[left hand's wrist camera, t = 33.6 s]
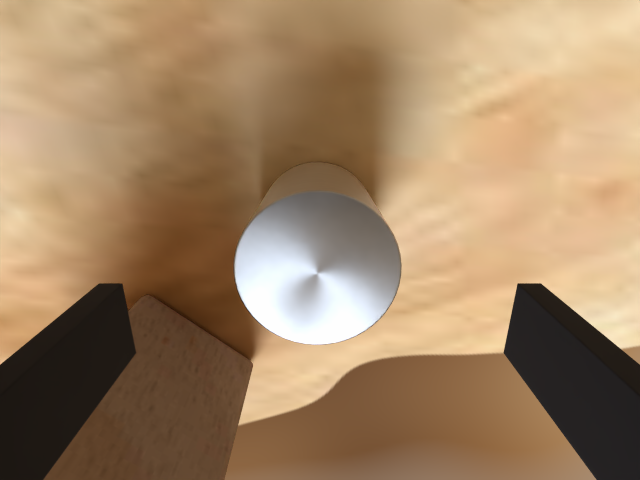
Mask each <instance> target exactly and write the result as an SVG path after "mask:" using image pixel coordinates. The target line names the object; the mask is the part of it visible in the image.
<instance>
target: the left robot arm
mask: <svg viewBox="0 0 640 480" xmlns="http://www.w3.org/2000/svg"><path fill="white" fill-rule="evenodd" d="M135 354H136V349H135V344H134V339H133V334H132V329H131V324H130V319H129V314H128V309H127V304H126V299H125V295H124V290H123V285H122V284H98V285H97V286H96V287H94V288H93V289H92V290H91V291H90V292H88V293H87V294H86V295H85V296H83V297H82V298H81V299H80V300H79V301H77V302H76V303H75V304H74V305H72V306H71V307H70V308H69V309H68V310H66V311H65V312H64V313H63V314H61V315H60V316H59V317H58V318H57V319H55V320H54V321H53V322H52V323H51V324H49V325H48V326H47V327H46V328H44V329H43V330H42V331H41V332H40V333H38V334H37V335H36V336H35V337H33V338H32V339H31V340H30V341H29V342H27V343H26V344H25V345H24V346H23V347H21V348H20V349H19V350H18V351H16V352H15V353H14V354H13V355H12V356H10V357H9V358H8V359H7V360H5V361H4V362H3V363H2V364H1V365H0V480H44V478H45V477H46V475H47V474H48V473H49V471H50V470H51V469H52V467H53V466H54V464H55V463H56V462H57V460H58V459H59V458H60V456H61V455H62V454H63V452H64V451H65V449H66V448H67V447H68V445H69V444H70V443H71V441H72V440H73V439H74V437H75V436H76V434H77V433H78V432H79V430H80V429H81V428H82V426H83V425H84V424H85V422H86V421H87V419H88V418H89V417H90V415H91V414H92V413H93V411H94V410H95V409H96V407H97V406H98V404H99V403H100V402H101V400H102V399H103V398H104V396H105V395H106V394H107V392H108V391H109V389H110V388H111V387H112V385H113V384H114V383H115V381H116V380H117V379H118V377H119V376H120V374H121V373H122V372H123V370H124V369H125V368H126V366H127V365H128V364H129V362H130V361H131V359H132V358H133V357H134V355H135ZM504 354H505V355H506V357H507V358H508V359H509V361H510V362H511V363H512V365H513V366H514V368H515V369H516V370H517V372H518V373H519V374H520V376H521V377H522V379H523V380H524V381H525V383H526V384H527V385H528V387H529V388H530V389H531V391H532V392H533V393H534V395H535V396H536V398H537V399H538V400H539V402H540V403H541V404H542V406H543V407H544V409H545V410H546V411H547V413H548V414H549V415H550V417H551V418H552V419H553V421H554V422H555V424H556V425H557V426H558V428H559V429H560V430H561V432H562V433H563V434H564V436H565V437H566V439H567V440H568V441H569V443H570V444H571V445H572V447H573V448H574V449H575V451H576V452H577V454H578V455H579V456H580V458H581V459H582V460H583V462H584V463H585V465H586V466H587V467H588V469H589V470H590V471H591V473H592V474H593V475H594V477H595V478H596V479H597V480H640V365H639V364H638V363H637V362H636V361H635V360H633V359H632V358H631V357H630V356H628V355H627V354H626V353H625V352H624V351H622V350H621V349H620V348H619V347H617V346H616V345H615V344H614V343H613V342H611V341H610V340H609V339H608V338H607V337H605V336H604V335H603V334H602V333H600V332H599V331H598V330H597V329H596V328H594V327H593V326H592V325H591V324H589V323H588V322H587V321H586V320H585V319H583V318H582V317H581V316H580V315H579V314H577V313H576V312H575V311H574V310H572V309H571V308H570V307H569V306H568V305H566V304H565V303H564V302H563V301H561V300H560V299H559V298H558V297H557V296H555V295H554V294H553V293H552V292H550V291H549V290H548V289H547V288H546V287H544V286H543V285H542V284H518V285H517V290H516V295H515V299H514V304H513V309H512V314H511V319H510V324H509V329H508V334H507V339H506V344H505V349H504Z"/></svg>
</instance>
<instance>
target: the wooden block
mask: <svg viewBox="0 0 640 480" xmlns="http://www.w3.org/2000/svg"><path fill="white" fill-rule="evenodd" d="M128 314H129V319H130V324H131V329H132V334H133V339H134V344H135V349H136V354H135V355H134V357H133V358H132V359H131V361H130V362H129V364H128V365H127V366H126V368H125V369H124V370H123V372H122V373H121V374H120V376H119V377H118V379H117V380H116V381H115V383H114V384H113V385H112V387H111V388H110V389H109V391H108V392H107V394H106V395H105V396H104V398H103V399H102V400H101V402H100V403H99V404H98V406H97V407H96V409H95V410H94V411H93V413H92V414H91V415H90V417H89V418H88V419H87V421H86V422H85V424H84V425H83V426H82V428H81V429H80V430H79V432H78V433H77V434H76V436H75V437H74V439H73V440H72V441H71V443H70V444H69V445H68V447H67V448H66V449H65V451H64V452H63V454H62V455H61V456H60V458H59V459H58V460H57V462H56V463H55V464H54V466H53V467H52V469H51V470H50V471H49V473H48V474H47V475H46V477H45V478H44V480H224V479H225V475H226V471H227V466H228V463H229V459H230V455H231V451H232V447H233V443H234V439H235V435H236V431H237V427H238V423H239V419H240V415H241V411H242V407H243V403H244V399H245V395H246V391H247V388H248V384H249V380H250V376H251V372H252V368H253V364H252V362H251V361H250V360H249V359H247V358H246V357H244V356H243V355H241V354H240V353H238V352H237V351H235V350H233V349H232V348H230V347H229V346H227V345H226V344H224V343H223V342H221V341H220V340H218V339H217V338H215V337H214V336H212V335H211V334H209V333H207V332H206V331H204V330H203V329H201V328H200V327H198V326H197V325H195V324H194V323H192V322H191V321H189V320H188V319H186V318H185V317H183V316H182V315H180V314H178V313H177V312H175V311H174V310H172V309H171V308H169V307H168V306H166V305H165V304H163V303H162V302H160V301H159V300H157V299H156V298H154V297H152V296H150V295H145V296H143V297H141V298H140V299H139V300H138V301H137V302H136V303H135V304H134V305H133V306H132V307H131V308H130V310H129V311H128Z"/></svg>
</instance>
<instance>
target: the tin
mask: <svg viewBox="0 0 640 480" xmlns="http://www.w3.org/2000/svg"><path fill="white" fill-rule="evenodd" d="M400 278H401V256H400V251H399V247H398V244H397V241H396V239H395V237H394V234H393V233H392V231H391V229H390V228H389V226H388V224H387V223H386V221H385V219H384V218H383V216H382V215H381V213H380V211H379V210H378V208H377V206H376V205H375V203H374V202H373V200H372V198H371V197H370V195H369V194H368V192H367V190H366V189H365V187H364V186H363V184H362V183H361V182H360V181H359V179H357V178H356V177H355V176H354V175H353V174H352V173H350V172H349V171H348V170H346V169H344V168H342V167H340V166H337V165H334V164H330V163H324V162H310V163H304V164H301V165H298V166H295V167H293V168H291V169H289V170H288V171H286V172H284V173H283V174H282V175H281V176H280V177H278V178H277V179H276V181H275V182H274V183H273V184H272V186H271V187H270V189H269V190H268V192H267V193H266V195H265V197H264V198H263V200H262V201H261V203H260V205H259V206H258V208H257V210H256V211H255V213H254V214H253V216H252V218H251V219H250V221H249V222H248V224H247V226H246V227H245V229H244V231H243V233H242V235H241V237H240V239H239V241H238V244H237V247H236V250H235V256H234V279H235V284H236V287H237V291H238V293H239V296H240V298H241V300H242V302H243V304H244V305H245V307H246V309H247V310H248V311H249V313H250V314H251V315H252V316H253V317H254V318H255V319H256V320H257V321H258V322H259V323H260V324H261V325H262V326H264V327H265V328H266V329H267V330H269V331H271V332H272V333H274V334H276V335H278V336H280V337H282V338H285V339H287V340H291V341H294V342H298V343H303V344H313V345H321V344H331V343H337V342H341V341H345V340H347V339H350V338H353V337H355V336H357V335H359V334H361V333H363V332H364V331H366V330H367V329H369V328H370V327H371V326H373V325H374V324H375V323H376V322H377V321H378V320H379V319H380V318H381V317H382V316H383V315H384V314H385V313H386V311H387V310H388V308H389V307H390V305H391V304H392V302H393V300H394V298H395V296H396V293H397V290H398V287H399V284H400Z"/></svg>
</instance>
